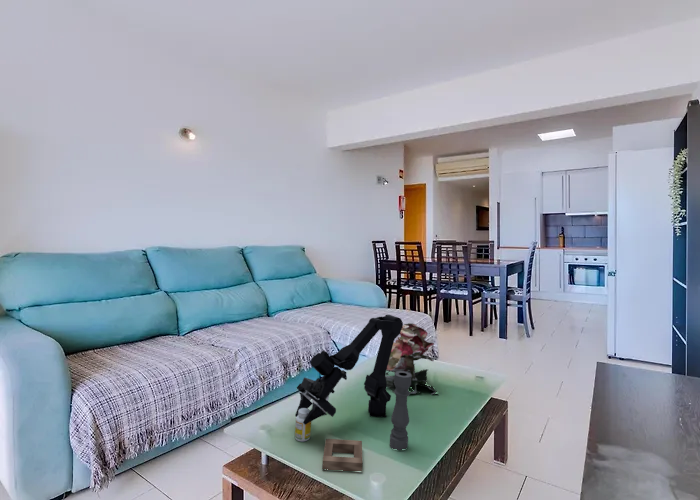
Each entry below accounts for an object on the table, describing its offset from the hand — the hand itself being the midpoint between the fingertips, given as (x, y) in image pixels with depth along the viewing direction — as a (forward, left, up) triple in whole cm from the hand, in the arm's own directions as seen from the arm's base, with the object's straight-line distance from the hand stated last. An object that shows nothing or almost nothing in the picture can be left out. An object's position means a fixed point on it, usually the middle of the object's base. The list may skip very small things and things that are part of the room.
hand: (300, 420), depth 132 cm
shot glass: (-5, -21, -7) cm, 23 cm away
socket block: (-15, +10, -7) cm, 20 cm away
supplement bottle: (-1, -1, -7) cm, 7 cm away
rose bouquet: (-43, -51, -7) cm, 67 cm away
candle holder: (-34, +1, -7) cm, 35 cm away
